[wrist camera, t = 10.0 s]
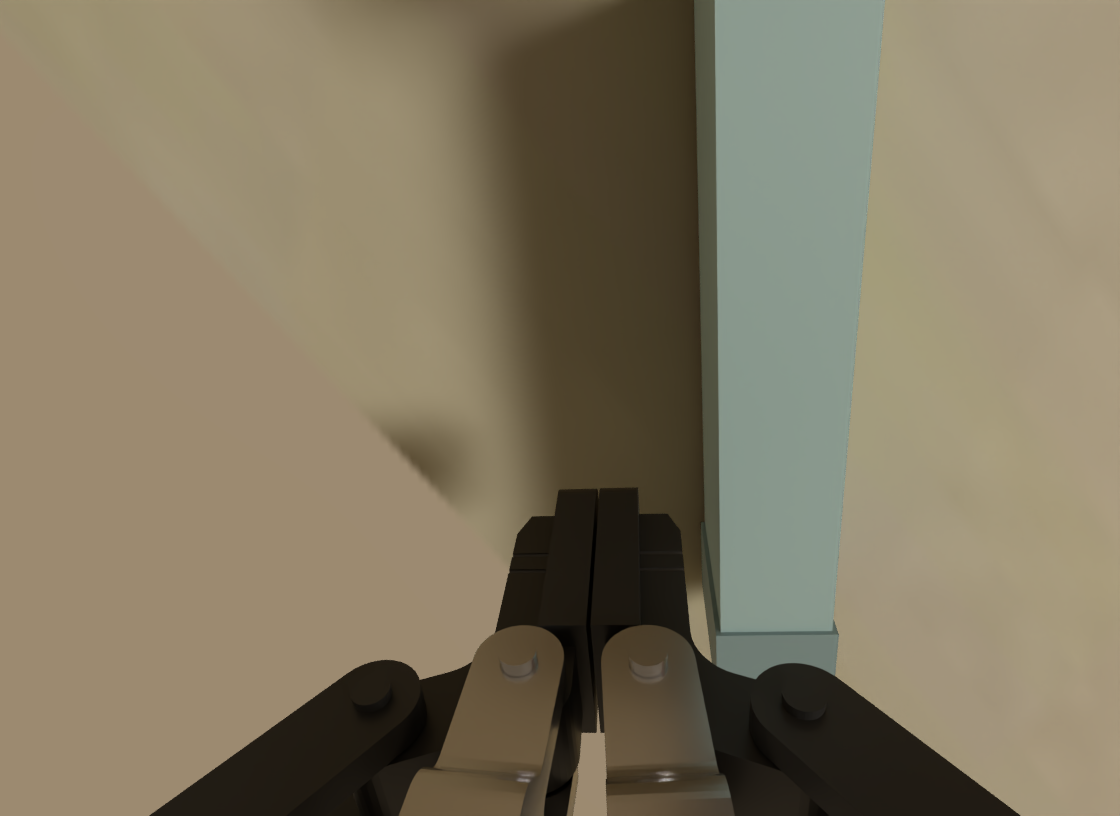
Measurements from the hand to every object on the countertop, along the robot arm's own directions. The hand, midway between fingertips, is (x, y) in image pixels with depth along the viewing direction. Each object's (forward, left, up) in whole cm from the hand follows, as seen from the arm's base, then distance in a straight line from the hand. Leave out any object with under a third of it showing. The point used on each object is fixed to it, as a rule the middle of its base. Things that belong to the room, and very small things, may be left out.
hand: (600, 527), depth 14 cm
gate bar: (+2, -3, -4) cm, 6 cm away
